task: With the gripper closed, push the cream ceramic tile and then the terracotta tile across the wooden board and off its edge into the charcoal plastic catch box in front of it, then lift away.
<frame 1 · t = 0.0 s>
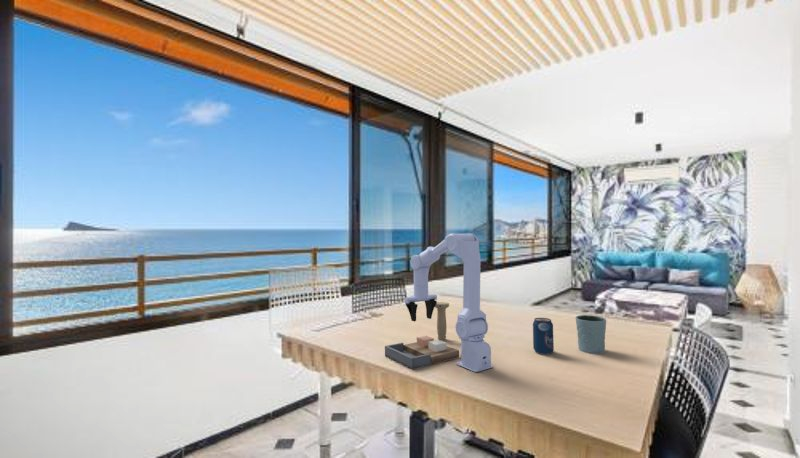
hand: (421, 319, 144), 10 cm above the table, fingers open, 7 cm apart
tile terracotta: (425, 344, 136), point 2 cm above the table, touching wooden board
blue-grey cup: (591, 351, 134), on the table
soda can: (543, 352, 133), on the table
tile cream: (437, 349, 130), point 2 cm above the table, touching wooden board
wooden board: (430, 354, 132), on the table
handle: (441, 339, 152), on the table
catch box: (407, 360, 126), on the table
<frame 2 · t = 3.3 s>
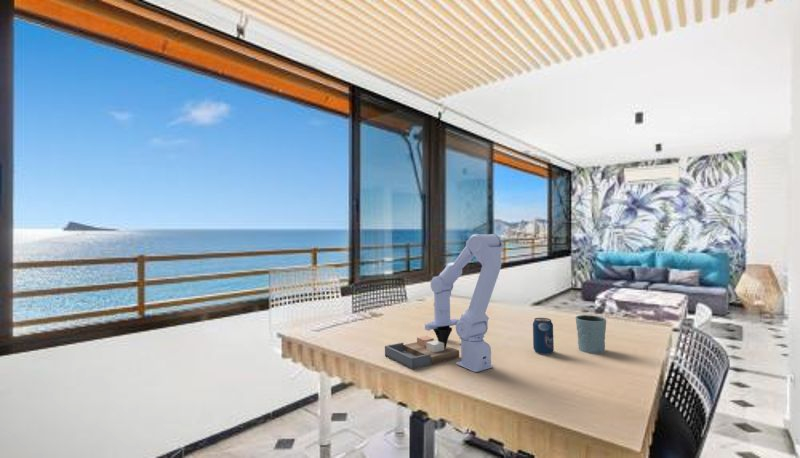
hand: (442, 347, 131), 3 cm above the table, fingers closed
tile cream: (435, 349, 129), point 2 cm above the table, touching gripper, wooden board
everything else where it was.
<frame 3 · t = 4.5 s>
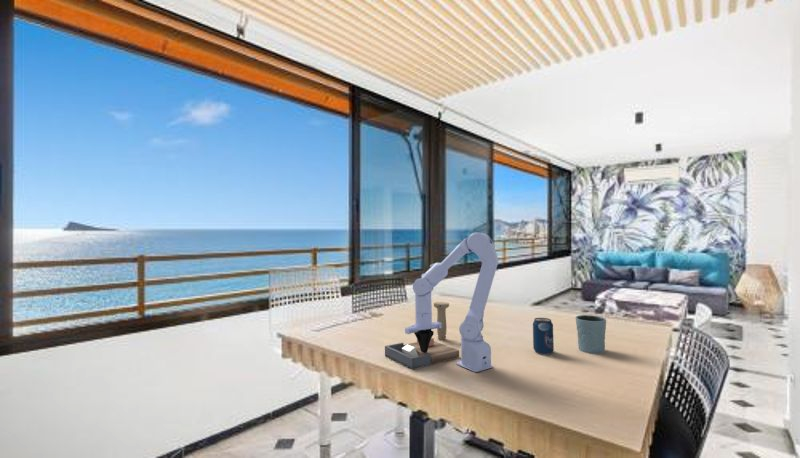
hand: (424, 351, 127), 3 cm above the table, fingers closed
tile cream: (413, 351, 124), point 4 cm above the table, tilted 113°, touching catch box
everything else where it was.
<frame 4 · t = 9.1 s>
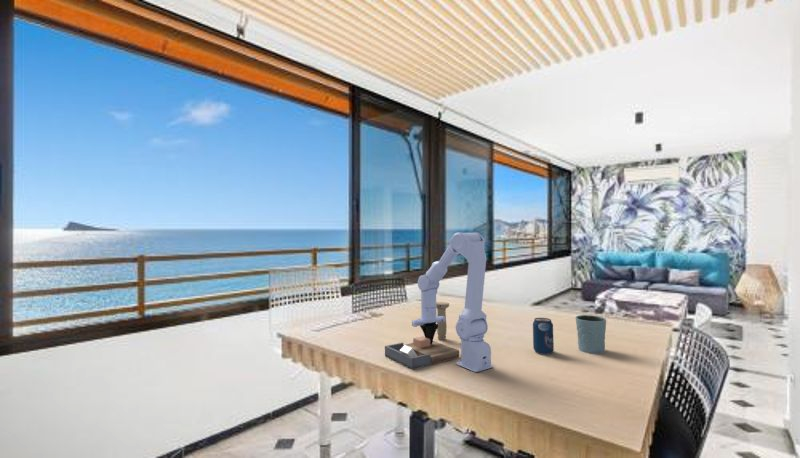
hand: (429, 343, 137), 3 cm above the table, fingers closed
tile terracotta: (421, 345, 135), point 3 cm above the table, touching gripper, wooden board
tile cream: (411, 351, 123), point 4 cm above the table, tilted 126°, touching catch box
everything else where it was.
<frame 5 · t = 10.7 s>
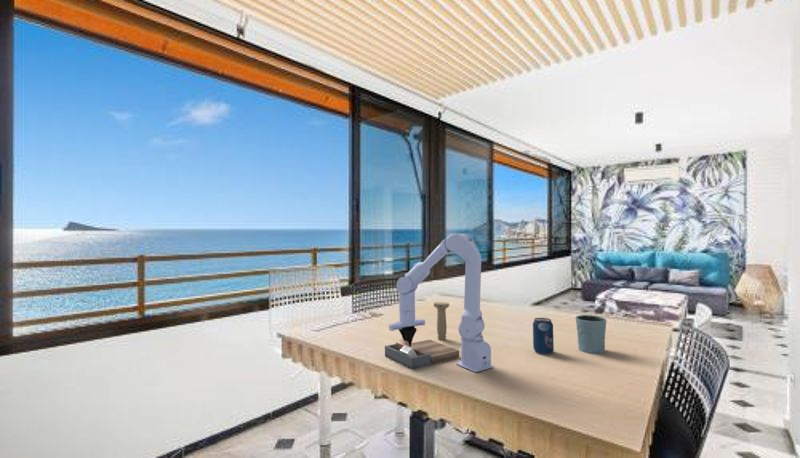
hand: (407, 347, 131), 3 cm above the table, fingers closed, pressing on tile terracotta
tile terracotta: (406, 345, 131), point 4 cm above the table, tilted 108°, touching catch box, gripper
everything else where it was.
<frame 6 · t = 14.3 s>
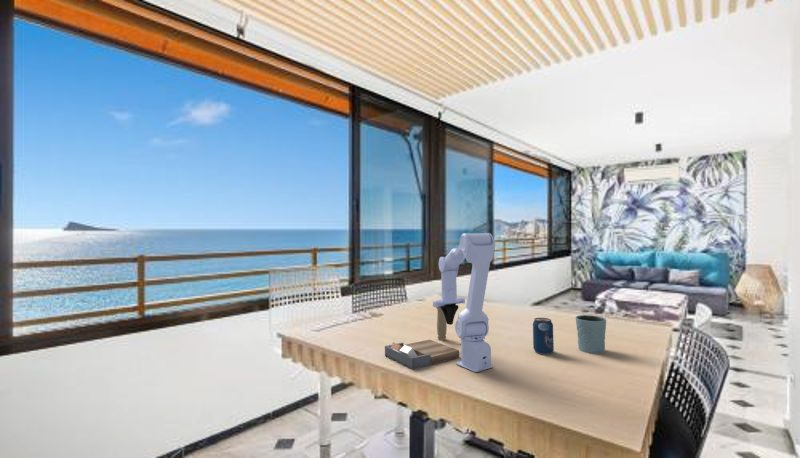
hand: (449, 324, 139), 9 cm above the table, fingers closed
tile terracotta: (400, 345, 130), point 4 cm above the table, tilted 149°, touching catch box
everything else where it was.
at the end: tile cream inside the target area on the catch box (3.1 cm from its centre), point 3.9 cm above the catch box's base; tile terracotta inside the target area on the catch box (4.0 cm from its centre), point 3.9 cm above the catch box's base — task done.
